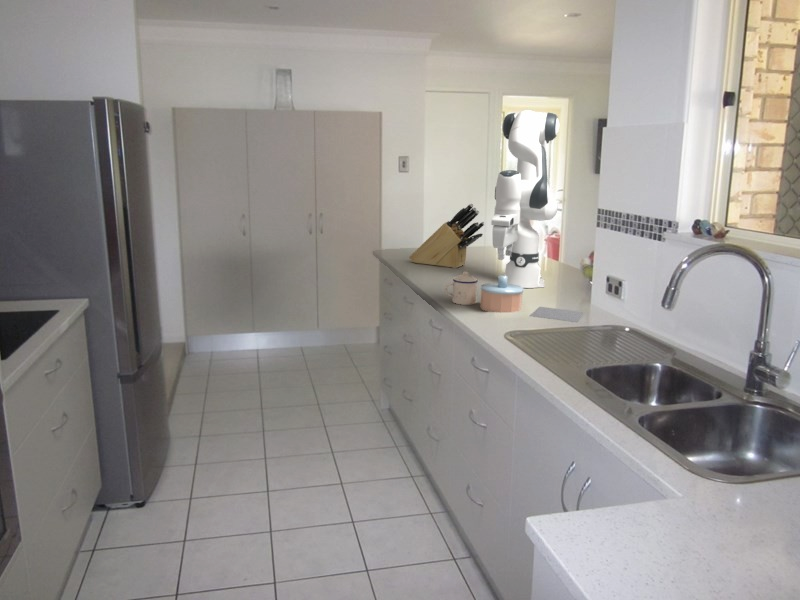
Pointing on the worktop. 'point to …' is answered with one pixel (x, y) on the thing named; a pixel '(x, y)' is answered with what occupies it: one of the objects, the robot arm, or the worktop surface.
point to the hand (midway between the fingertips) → (504, 257)
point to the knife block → (450, 241)
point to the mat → (557, 314)
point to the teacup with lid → (463, 289)
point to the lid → (502, 287)
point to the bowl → (501, 302)
